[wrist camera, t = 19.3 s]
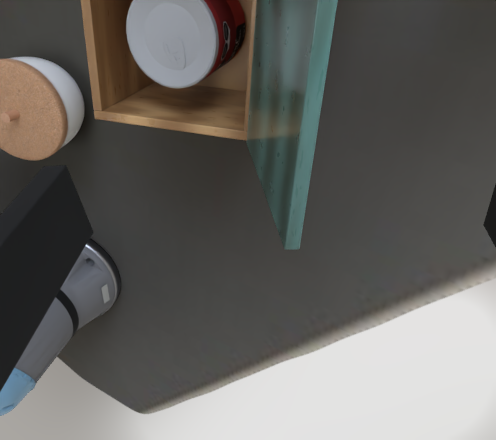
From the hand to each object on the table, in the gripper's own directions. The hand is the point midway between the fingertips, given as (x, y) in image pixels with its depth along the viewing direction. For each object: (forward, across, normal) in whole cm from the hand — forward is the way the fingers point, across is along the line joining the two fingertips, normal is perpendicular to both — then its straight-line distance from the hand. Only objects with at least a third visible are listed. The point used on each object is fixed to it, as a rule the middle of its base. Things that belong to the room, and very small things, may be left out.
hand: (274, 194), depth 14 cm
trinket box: (+37, -28, -10) cm, 48 cm away
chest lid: (+14, -1, 0) cm, 14 cm away
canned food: (+35, -8, -3) cm, 36 cm away
